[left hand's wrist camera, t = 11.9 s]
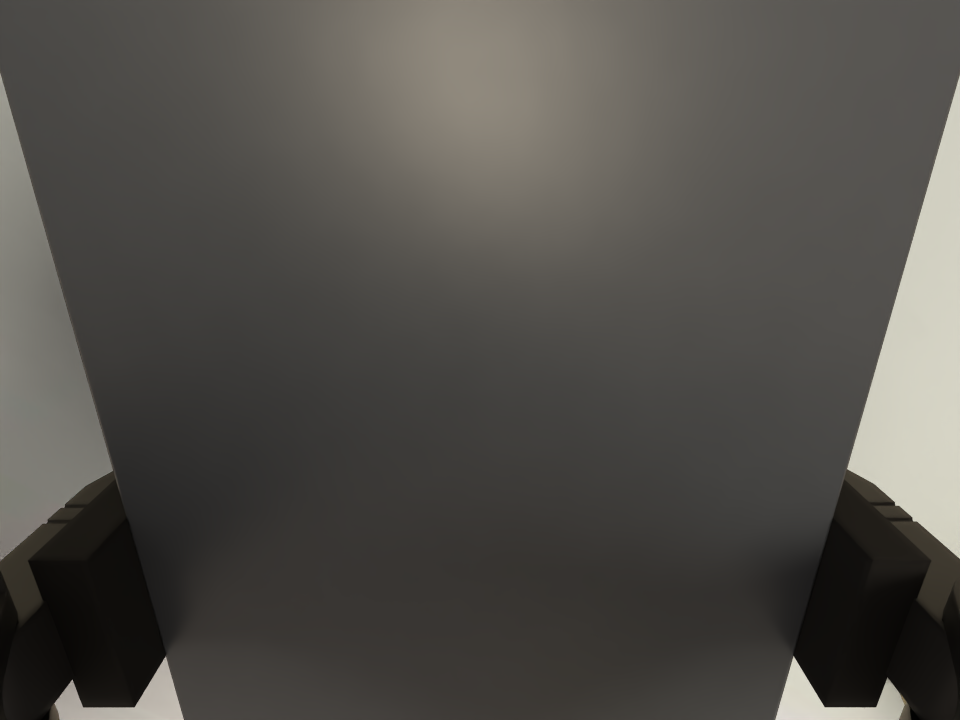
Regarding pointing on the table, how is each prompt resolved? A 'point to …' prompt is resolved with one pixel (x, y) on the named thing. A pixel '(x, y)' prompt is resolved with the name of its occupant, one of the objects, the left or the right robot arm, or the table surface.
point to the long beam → (480, 329)
